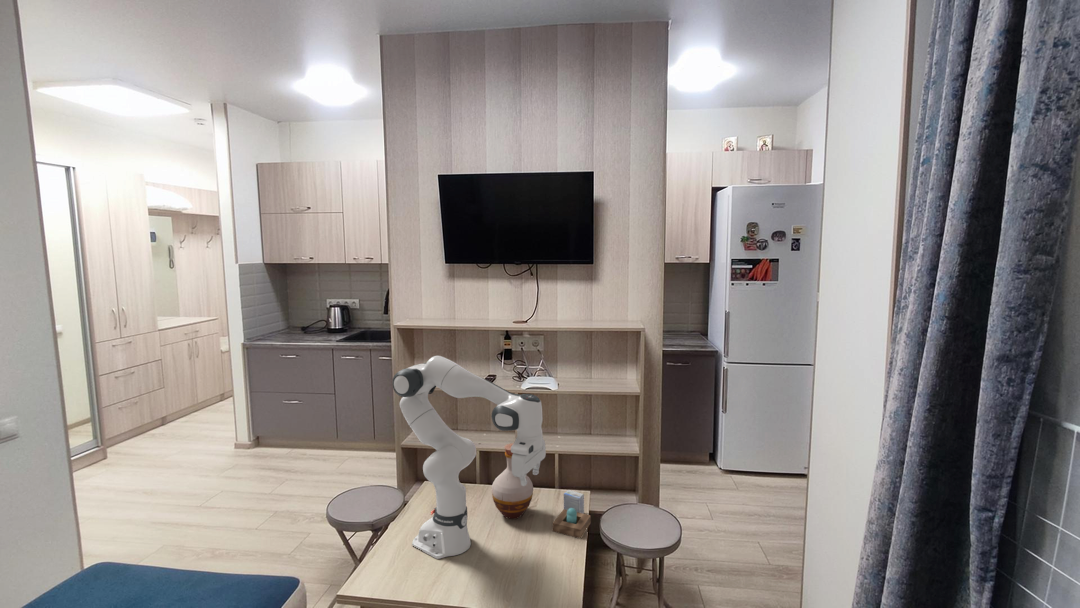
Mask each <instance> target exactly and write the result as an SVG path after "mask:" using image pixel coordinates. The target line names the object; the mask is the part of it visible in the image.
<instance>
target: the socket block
mask: <svg viewBox="0 0 1080 608" xmlns="http://www.w3.org/2000/svg"><path fill="white" fill-rule="evenodd" d="M591 519H592V518H591V515H590V514H586V513H578V512H577V524H573V523H569V522H567V510H565V509H564V508H563V509H562V511H561V512H560V513H559V515H558V516H557V517H556V518H555V519H554V521H553V522H552V532H555V533H558V534H562V535H566V536H569V537H570V536H571V537H574V538H578V539H582V537H583V535H585V532H586V531H587V530H586V528H587V529H589V526H590V525H591V521H592V520H591Z"/></svg>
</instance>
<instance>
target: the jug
mask: <svg viewBox="0 0 1080 608" xmlns="http://www.w3.org/2000/svg"><path fill="white" fill-rule="evenodd" d="M513 444H514V442H512V443H510V442H509V443H507V444H505V445H504V457H505V458H506V468H505V469H504V470H503V471H502V472H501V473H500V474H499V475H498V476H497V477H495V479H494V481H493V482H492V485H491V496H492V500H493V503H494V505H495V508H496V509H497V510H498V512H500V514H501V515H502V516H503V517H504V518H506V519H511V520H513V519H514V520H516V519H518V518H520V517H521V516H523V514H524V513H525V512H526V511H527V509H528V508H529V507H530V504H531V502H532V500H533V495H534V486H533V485H534V484H533V482H532V480H531V478H530V477H529V476H528V475H527V474H526V477H525V478H526V479H527V484H526V485H525V486H522V485H521V480H520V478H519V477H515V476H513V474H512V455H513V453H512V452H511V446H512V445H513Z"/></svg>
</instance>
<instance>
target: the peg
mask: <svg viewBox="0 0 1080 608" xmlns="http://www.w3.org/2000/svg"><path fill="white" fill-rule="evenodd" d="M567 522H569V523H573V524H577V512H576V510H575V509H574V508H569V509H568V510H567Z"/></svg>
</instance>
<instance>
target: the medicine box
mask: <svg viewBox="0 0 1080 608" xmlns="http://www.w3.org/2000/svg"><path fill="white" fill-rule="evenodd" d="M569 508H574V509H575V510H576V512H578V513H583V514H585V494H584V493H581V492H578V491H576V490H575V491H574V490H570V489H568V490H566V491H565V492H564V493H563V509H565V510H568V509H569Z"/></svg>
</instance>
